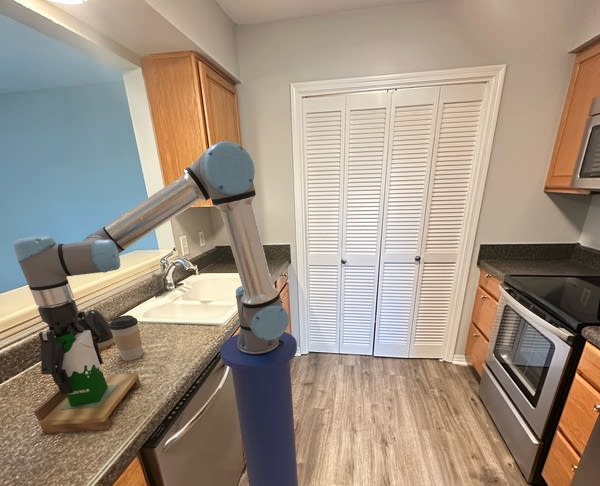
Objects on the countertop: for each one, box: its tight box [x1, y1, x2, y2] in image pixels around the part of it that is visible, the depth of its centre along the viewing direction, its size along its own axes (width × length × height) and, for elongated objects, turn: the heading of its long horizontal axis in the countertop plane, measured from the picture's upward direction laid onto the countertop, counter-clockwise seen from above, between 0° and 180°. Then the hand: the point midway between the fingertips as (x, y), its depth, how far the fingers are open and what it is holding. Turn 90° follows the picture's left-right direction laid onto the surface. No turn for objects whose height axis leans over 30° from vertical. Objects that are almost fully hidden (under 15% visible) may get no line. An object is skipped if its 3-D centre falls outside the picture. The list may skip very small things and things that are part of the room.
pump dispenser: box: [85, 309, 115, 350], centre depth 123 cm, size 10×10×15 cm
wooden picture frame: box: [33, 373, 141, 434], centre depth 90 cm, size 16×20×7 cm
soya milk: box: [55, 330, 108, 406], centre depth 85 cm, size 9×9×20 cm
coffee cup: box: [109, 314, 144, 361], centre depth 115 cm, size 9×9×15 cm
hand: (83, 377), depth 86 cm, fingers open, 13 cm apart
